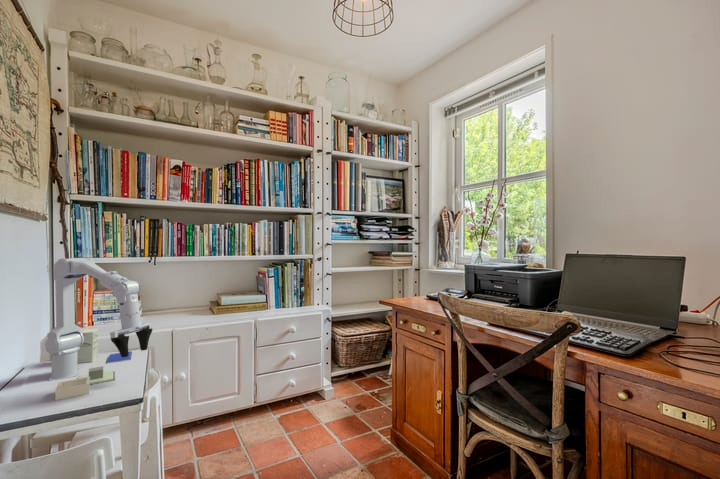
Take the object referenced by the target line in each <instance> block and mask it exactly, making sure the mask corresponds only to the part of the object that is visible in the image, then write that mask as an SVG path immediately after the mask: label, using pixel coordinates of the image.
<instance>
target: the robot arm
mask: <svg viewBox="0 0 720 479" xmlns="http://www.w3.org/2000/svg"><path fill="white" fill-rule="evenodd" d="M87 275H88V276H90V277H92V278H94V279H97V280H99V284H100V285H101V286H102V287H104V288H106V289H108V290H110V291H111V292H112V294H113V296H114V297H115V299H116V303H117V304H118V308H119V316H120V317H119V318H120V325H121V329H118V330H115V331H111V332H109V335H110V342H112V343H113V344H114V345H115V347H116V348H117V350H118V353H120V354H121V357H127V356H128V352H129V339H130V335H129V334H133V333H135V335H136V336H137V339H138V342H139V348H140V351H141V352H142V351H143V352H144V351H148V347H149V342H150V341H149V340H150V337H151V335H152V332H153V328H152V322H146V323H142V321H141V320H142V319H141V313H140V303H139V294H141V291H142V287H141V284H140V282H139V281H137V279H128V277H126V276H122V275H120V274H118V271H116V270H112V271H106V270H105V269H103V268H102V267H100V266H99V265H98V264H96V262H95V260H94V259H91V258H89V257H81V258H80V257H79V258H64V257H63V258H59V259H58V260H57V261H56V262H55V263H54V264H53V280H54V282H55V327H54V328H52V329H51V330H50V331H49V332H48V333H47V336H46V337H47V338H46V341H45V344H44V348H45V351H46V352H47V353H48V354H49V355H51V374H50V376H49V378H48V382H53V381H58V380H64V379H68V378H73V377H79V373H80V368H79V367H78V363H77V355H78V350H79V349H80V347H81V346H82V344H83V342H84V336H83V334H82V330H83V329H82V327H81V326H79V325H77V324H76V314H75V312H76V310H75V309H76V308H75V306H76V305H75V304H76V303H75V302H76V301H75V300H76V299H75V298H76V297H75V283H76V282H77V281H78V280H79V279H82V278H84V277H85V276H87Z"/></svg>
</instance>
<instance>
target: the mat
mask: <svg viewBox="0 0 720 479" xmlns="http://www.w3.org/2000/svg"><path fill="white" fill-rule="evenodd" d="M78 378H79V377H77V378H76V379H78ZM114 381H116V372H115V371H114V370H113V380H112V381H106V382H101V383H96V384H91V385H90V386H94V385H98V384H104V383H109V382H114Z"/></svg>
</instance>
